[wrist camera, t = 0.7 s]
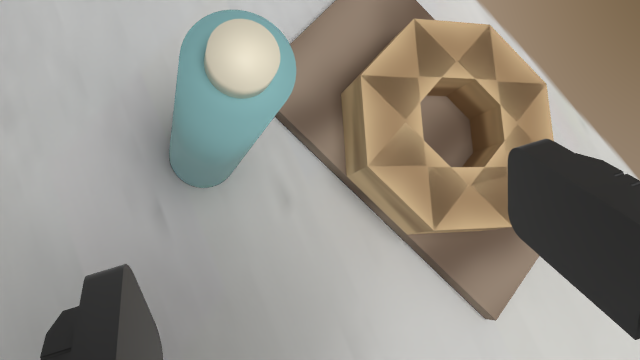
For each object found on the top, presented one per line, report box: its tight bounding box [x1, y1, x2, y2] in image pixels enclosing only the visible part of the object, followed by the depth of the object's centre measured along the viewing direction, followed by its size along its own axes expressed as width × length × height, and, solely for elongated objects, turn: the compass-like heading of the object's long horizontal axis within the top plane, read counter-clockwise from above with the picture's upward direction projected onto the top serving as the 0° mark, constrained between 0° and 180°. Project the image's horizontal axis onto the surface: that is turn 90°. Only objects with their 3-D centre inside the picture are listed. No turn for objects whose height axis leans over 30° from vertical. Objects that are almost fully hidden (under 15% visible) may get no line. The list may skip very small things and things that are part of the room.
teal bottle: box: [169, 10, 296, 188], centre depth 25 cm, size 4×4×16 cm
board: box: [275, 0, 539, 320], centre depth 37 cm, size 22×13×1 cm, turn 47°
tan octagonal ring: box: [341, 19, 554, 235], centre depth 34 cm, size 13×13×4 cm
